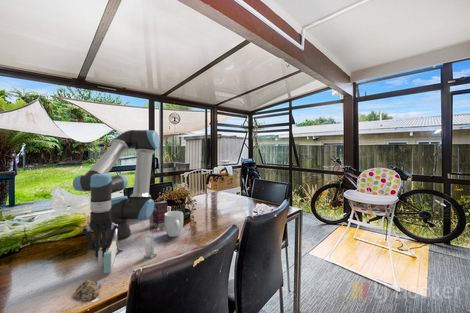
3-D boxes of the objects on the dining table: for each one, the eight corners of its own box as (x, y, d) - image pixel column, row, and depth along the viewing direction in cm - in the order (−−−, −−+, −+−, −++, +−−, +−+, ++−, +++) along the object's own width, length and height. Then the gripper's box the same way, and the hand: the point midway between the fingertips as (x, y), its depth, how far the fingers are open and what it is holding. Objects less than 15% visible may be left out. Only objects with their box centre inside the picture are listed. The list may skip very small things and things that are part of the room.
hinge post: (106, 254, 101) (106, 230, 101) (115, 249, 106) (115, 226, 105) (114, 256, 99) (113, 231, 99) (122, 251, 104) (122, 228, 104)
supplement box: (163, 222, 146) (163, 200, 145) (167, 224, 143) (167, 201, 143) (152, 226, 139) (152, 203, 138) (157, 228, 136) (156, 204, 135)
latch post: (144, 257, 99) (144, 236, 98) (149, 253, 102) (149, 233, 102) (151, 259, 97) (151, 238, 97) (156, 255, 101) (156, 235, 100)
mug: (188, 238, 121) (188, 216, 120) (169, 242, 115) (169, 219, 114) (179, 229, 133) (179, 209, 133) (162, 233, 127) (162, 212, 127)
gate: (111, 253, 100) (110, 237, 100) (116, 252, 101) (116, 236, 100) (103, 273, 84) (103, 254, 83) (110, 272, 85) (110, 253, 84)
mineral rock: (68, 287, 74) (93, 271, 80) (72, 297, 75) (96, 280, 81) (77, 302, 67) (104, 284, 73) (82, 312, 68) (107, 293, 74)
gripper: (79, 214, 82) (79, 272, 83) (116, 211, 87) (116, 266, 88) (85, 208, 89) (85, 262, 90) (119, 206, 94) (119, 257, 95)
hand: (100, 264), depth 89 cm, fingers closed
